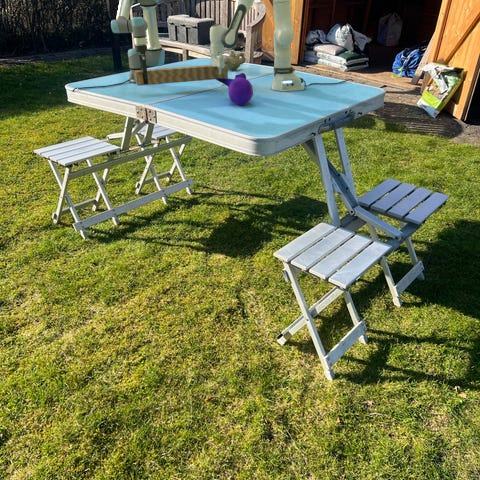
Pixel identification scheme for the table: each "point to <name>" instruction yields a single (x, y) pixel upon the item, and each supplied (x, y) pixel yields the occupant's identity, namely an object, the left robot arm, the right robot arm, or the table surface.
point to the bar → (181, 74)
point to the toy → (238, 89)
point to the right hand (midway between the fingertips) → (218, 73)
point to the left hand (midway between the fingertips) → (145, 83)
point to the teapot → (234, 60)
